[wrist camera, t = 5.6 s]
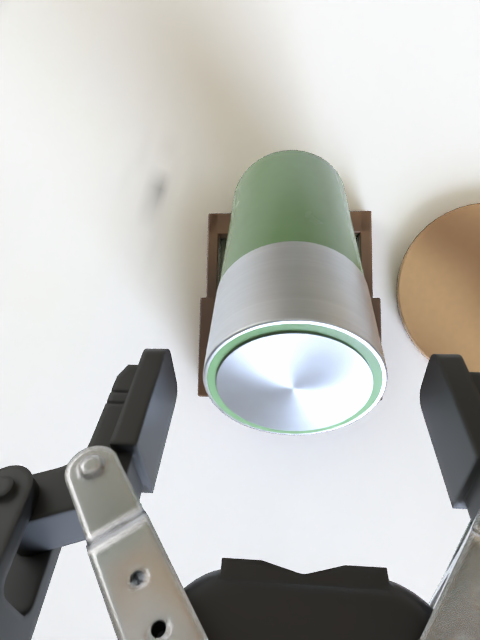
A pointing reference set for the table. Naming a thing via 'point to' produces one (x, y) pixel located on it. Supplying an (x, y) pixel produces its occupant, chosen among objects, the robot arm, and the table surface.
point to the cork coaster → (444, 287)
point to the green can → (293, 305)
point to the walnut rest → (216, 232)
